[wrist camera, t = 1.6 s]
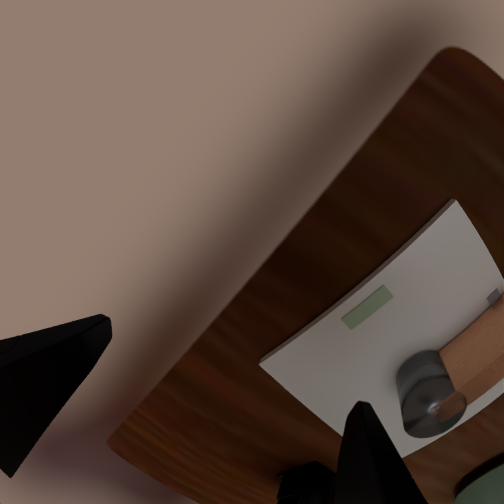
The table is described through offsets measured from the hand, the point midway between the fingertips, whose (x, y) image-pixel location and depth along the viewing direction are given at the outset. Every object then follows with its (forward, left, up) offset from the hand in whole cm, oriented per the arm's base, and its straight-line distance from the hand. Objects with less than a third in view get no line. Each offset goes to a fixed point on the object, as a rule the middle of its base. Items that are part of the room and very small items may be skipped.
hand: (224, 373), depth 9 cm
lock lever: (-15, -6, -12) cm, 20 cm away
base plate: (-15, -2, -14) cm, 20 cm away
